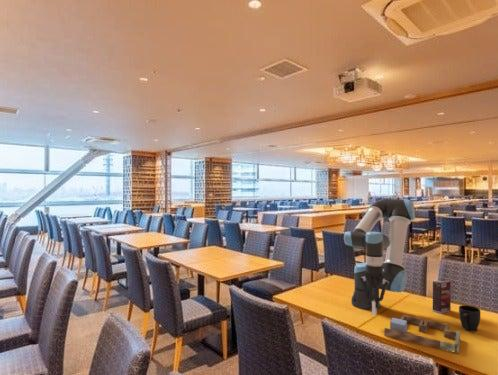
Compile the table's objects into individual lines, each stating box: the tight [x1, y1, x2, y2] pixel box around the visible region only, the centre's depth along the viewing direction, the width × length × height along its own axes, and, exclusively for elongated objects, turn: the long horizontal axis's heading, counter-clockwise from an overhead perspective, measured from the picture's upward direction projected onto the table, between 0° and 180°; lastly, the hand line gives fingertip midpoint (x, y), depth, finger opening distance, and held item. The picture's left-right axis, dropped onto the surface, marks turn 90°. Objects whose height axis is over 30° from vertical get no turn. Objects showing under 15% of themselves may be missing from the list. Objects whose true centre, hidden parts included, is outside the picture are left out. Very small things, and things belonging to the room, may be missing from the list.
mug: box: [458, 304, 481, 332], centre depth 148 cm, size 8×12×10 cm
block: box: [389, 317, 408, 333], centre depth 146 cm, size 6×6×5 cm
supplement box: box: [432, 279, 452, 314], centre depth 170 cm, size 9×5×16 cm, turn 116°
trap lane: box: [383, 314, 461, 354], centre depth 144 cm, size 28×21×4 cm
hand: (374, 314), depth 152 cm, fingers closed
